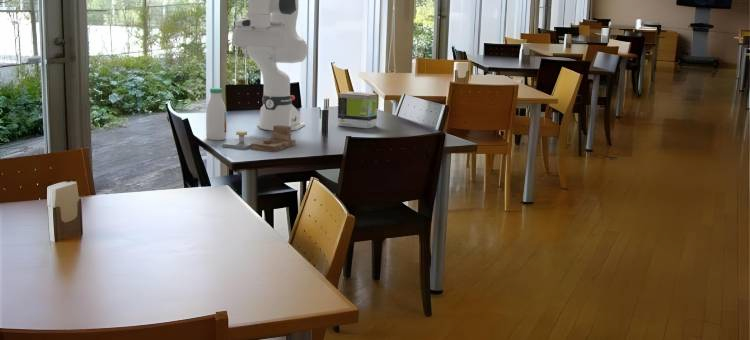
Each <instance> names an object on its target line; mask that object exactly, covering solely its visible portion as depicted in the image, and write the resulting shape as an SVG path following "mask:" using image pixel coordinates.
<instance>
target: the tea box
mask: <svg viewBox="0 0 750 340" xmlns="http://www.w3.org/2000/svg"><path fill="white" fill-rule="evenodd" d="M377 121H378V93H377V92H376V93H374V92H373V93H372V92H362V91H361V92H360V91H344V92H343V91H342V92H339V93H337V126H340V127H348V128H349V127H350V128H358V129H359V128H360V129H370V128H375V127H376V126H377V124H378V123H377Z"/></svg>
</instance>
